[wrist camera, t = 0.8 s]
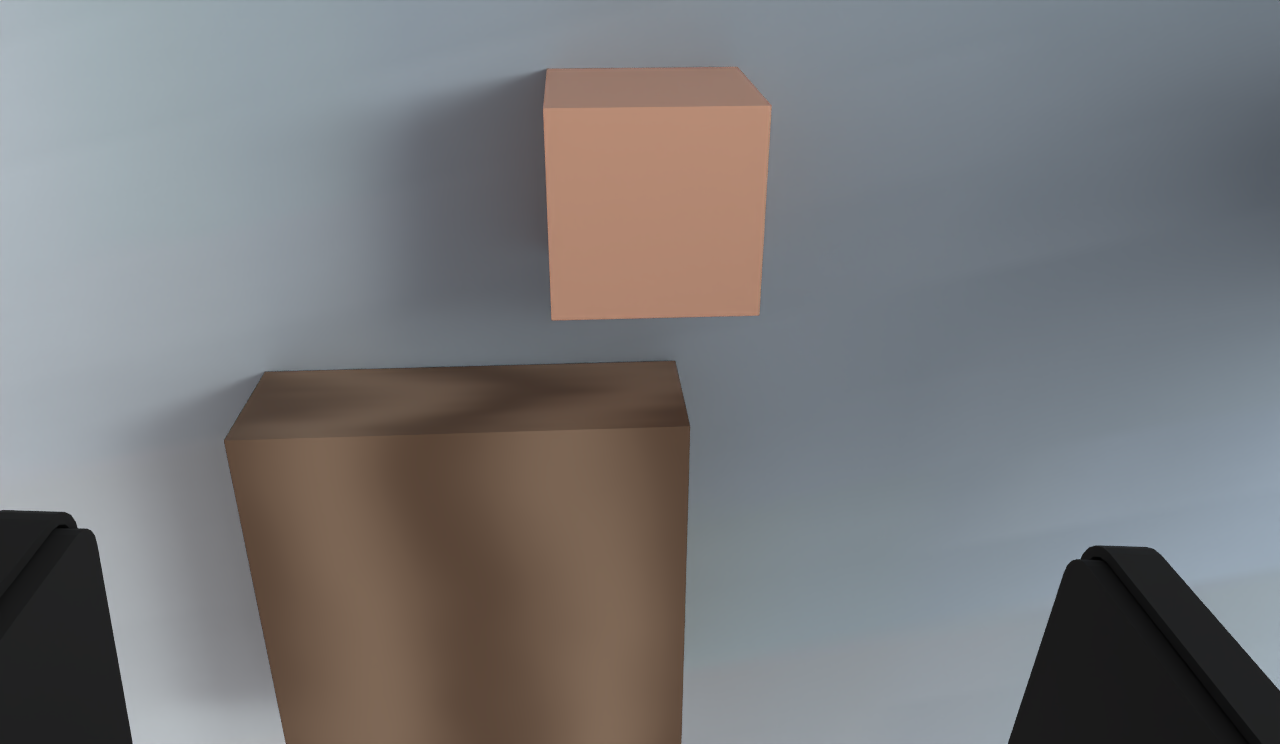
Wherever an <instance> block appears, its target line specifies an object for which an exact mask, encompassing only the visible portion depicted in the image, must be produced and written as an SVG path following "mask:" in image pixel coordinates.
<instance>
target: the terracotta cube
mask: <svg viewBox="0 0 1280 744" xmlns="http://www.w3.org/2000/svg"><path fill="white" fill-rule="evenodd" d="M771 107H772V106H771V104H770V103H769V102H768V101H767V100H766V99H765V98H764V96H763V95H762V94H761V93H760V92H759V91H758V90H757V88H756V87H755V86H754V85H753V84H752V83H751V82H750V80H749V79H748V78H747V77H746V76H745V75H744V74H743V73H742V71H741V70H740V69H739V68H738V67H673V68H569V69H547V72H546V83H545V93H544V104H543V118H544V144H545V169H546V194H547V220H548V245H549V270H550V296H551V320H591V319H633V318H675V317H716V316H758V315H759V312H760V295H761V278H762V260H763V243H764V226H765V209H766V192H767V175H768V158H769V141H770V124H771Z"/></svg>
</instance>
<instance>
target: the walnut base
mask: <svg viewBox="0 0 1280 744" xmlns="http://www.w3.org/2000/svg"><path fill="white" fill-rule="evenodd" d="M224 444H225V448H226V453H227V458H228V463H229V468H230V473H231V478H232V483H233V488H234V492H235V497H236V502H237V507H238V512H239V517H240V522H241V527H242V532H243V536H244V541H245V546H246V551H247V556H248V561H249V566H250V571H251V576H252V580H253V585H254V590H255V595H256V600H257V605H258V610H259V615H260V620H261V625H262V629H263V634H264V639H265V644H266V649H267V654H268V659H269V664H270V669H271V673H272V678H273V683H274V688H275V693H276V698H277V703H278V708H279V713H280V717H281V722H282V727H283V732H284V737H285V742H286V744H681V735H682V699H683V664H684V628H685V592H686V557H687V521H688V486H689V450H690V423H689V419H688V415H687V410H686V406H685V402H684V397H683V393H682V388H681V384H680V380H679V375H678V371H677V367H676V362H675V361H653V362H616V363H578V364H541V365H503V366H466V367H429V368H391V369H354V370H316V371H279V372H265V373H264V374H263V376H262V378H261V379H260V381H259V383H258V384H257V386H256V388H255V389H254V391H253V393H252V394H251V396H250V398H249V399H248V401H247V403H246V404H245V406H244V408H243V409H242V411H241V413H240V414H239V416H238V418H237V420H236V421H235V423H234V425H233V426H232V428H231V430H230V431H229V433H228V435H227V436H226V438H225V440H224Z"/></svg>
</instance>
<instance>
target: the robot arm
mask: <svg viewBox="0 0 1280 744" xmlns="http://www.w3.org/2000/svg"><path fill="white" fill-rule="evenodd" d="M0 744H132V737H131V731H130V726H129V720H128V714H127V709H126V703H125V698H124V692H123V686H122V681H121V675H120V669H119V664H118V658H117V653H116V647H115V641H114V636H113V630H112V625H111V619H110V613H109V608H108V602H107V597H106V591H105V585H104V580H103V574H102V568H101V563H100V557H99V552H98V546H97V542H96V538H95V535H94V534H93V532H92V531H91V530H89V529H78V528H77V524H76V522H75V520H74V519H73V517H72V516H71V515H70V514H68V513H66V512H46V511H15V510H1V511H0ZM1008 744H1280V691H1279V689H1278V688H1277V687H1276V686H1275V685H1274V684H1273V683H1272V681H1271V680H1270V679H1269V678H1268V677H1267V676H1266V675H1265V673H1264V672H1263V671H1262V670H1261V669H1260V668H1259V667H1258V665H1257V664H1256V663H1255V662H1254V661H1253V660H1252V659H1251V657H1250V656H1249V655H1248V654H1247V653H1246V652H1245V651H1244V649H1243V648H1242V647H1241V646H1240V645H1239V644H1238V643H1237V641H1236V640H1235V639H1234V638H1233V637H1232V636H1231V634H1230V633H1229V632H1228V631H1227V630H1226V629H1225V628H1224V626H1223V625H1222V624H1221V623H1220V622H1219V621H1218V620H1217V618H1216V617H1215V616H1214V615H1213V614H1212V613H1211V612H1210V610H1209V609H1208V608H1207V607H1206V606H1205V605H1204V604H1203V602H1202V601H1201V600H1200V599H1199V598H1198V597H1197V596H1196V594H1195V593H1194V592H1193V591H1192V590H1191V589H1190V587H1189V586H1188V585H1187V584H1186V583H1185V582H1184V581H1183V579H1182V578H1181V577H1180V576H1179V575H1178V574H1177V573H1176V571H1175V570H1174V569H1173V568H1172V567H1171V566H1170V565H1169V563H1168V562H1167V561H1166V560H1165V559H1164V558H1163V557H1162V555H1160V554H1159V553H1158V552H1157V551H1156V550H1154V549H1151V548H1148V547H1127V546H1093V547H1089V548H1088V549H1087V550H1086V551H1085V552H1084V553H1083V555H1082V557H1081V559H1076V560H1073V561H1071V562H1070V563H1069V564H1068V565H1067V567H1066V569H1065V571H1064V574H1063V577H1062V580H1061V583H1060V586H1059V589H1058V592H1057V596H1056V599H1055V602H1054V605H1053V608H1052V611H1051V614H1050V617H1049V620H1048V623H1047V626H1046V629H1045V632H1044V635H1043V638H1042V641H1041V644H1040V647H1039V650H1038V653H1037V656H1036V660H1035V663H1034V666H1033V669H1032V672H1031V675H1030V678H1029V681H1028V684H1027V687H1026V690H1025V693H1024V696H1023V699H1022V702H1021V705H1020V708H1019V711H1018V714H1017V717H1016V720H1015V724H1014V727H1013V730H1012V733H1011V736H1010V739H1009V742H1008Z"/></svg>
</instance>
